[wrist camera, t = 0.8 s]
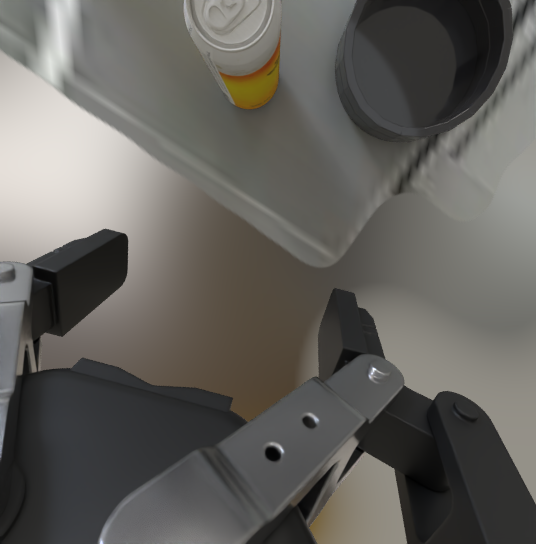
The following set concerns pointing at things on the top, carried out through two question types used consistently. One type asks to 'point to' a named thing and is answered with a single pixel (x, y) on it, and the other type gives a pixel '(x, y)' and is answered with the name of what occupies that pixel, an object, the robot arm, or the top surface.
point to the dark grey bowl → (421, 63)
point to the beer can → (238, 46)
